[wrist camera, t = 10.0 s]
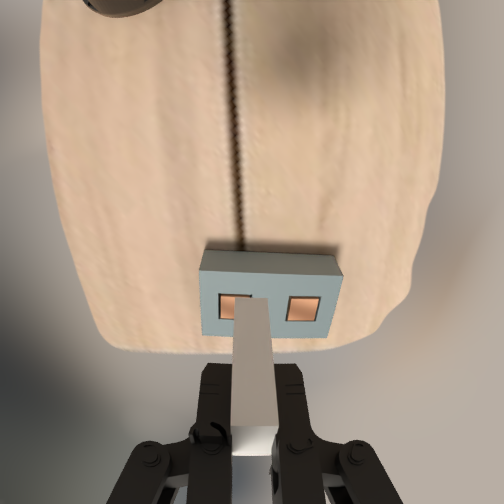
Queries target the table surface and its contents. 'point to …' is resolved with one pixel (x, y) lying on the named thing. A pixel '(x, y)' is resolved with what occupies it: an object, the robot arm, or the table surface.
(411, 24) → the table surface
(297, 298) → the peg
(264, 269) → the socket block
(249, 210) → the table surface
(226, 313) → the peg
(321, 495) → the robot arm
